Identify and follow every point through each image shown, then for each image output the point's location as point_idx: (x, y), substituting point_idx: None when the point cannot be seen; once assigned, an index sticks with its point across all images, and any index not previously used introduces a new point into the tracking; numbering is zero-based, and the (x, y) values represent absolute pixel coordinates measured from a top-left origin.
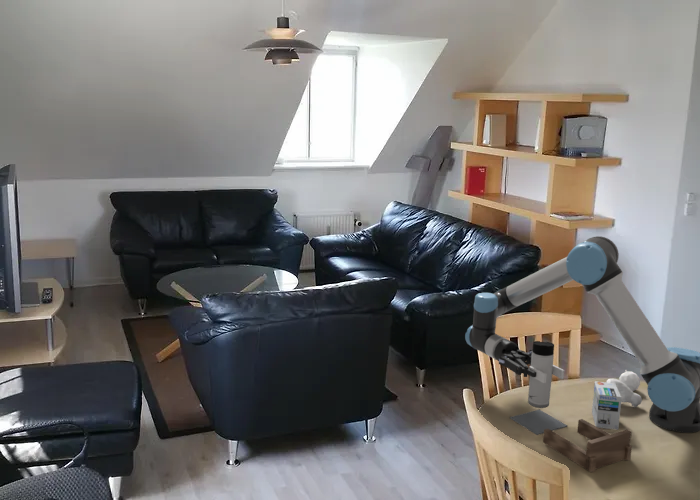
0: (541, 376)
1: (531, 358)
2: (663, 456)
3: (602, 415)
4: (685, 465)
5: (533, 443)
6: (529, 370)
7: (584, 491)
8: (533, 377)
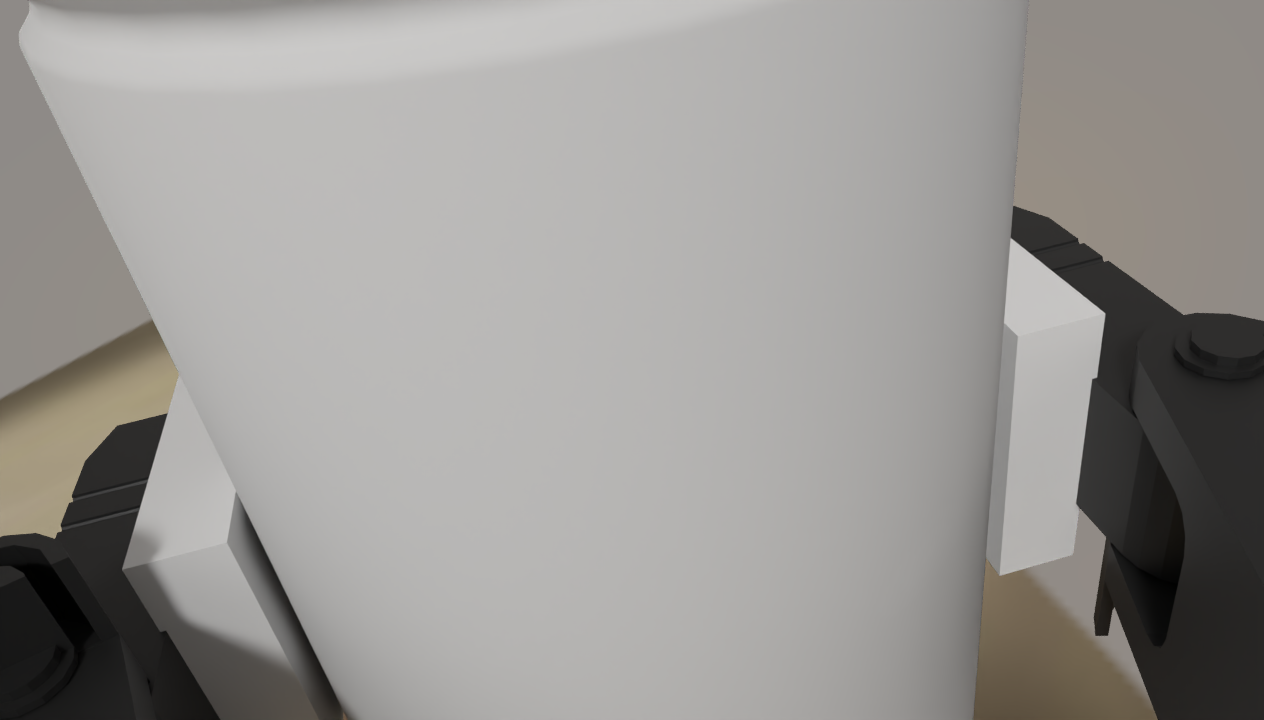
0: None
1: (1010, 155)
2: (135, 418)
3: None
4: (131, 353)
5: (1000, 624)
6: (1109, 286)
7: None
8: None
